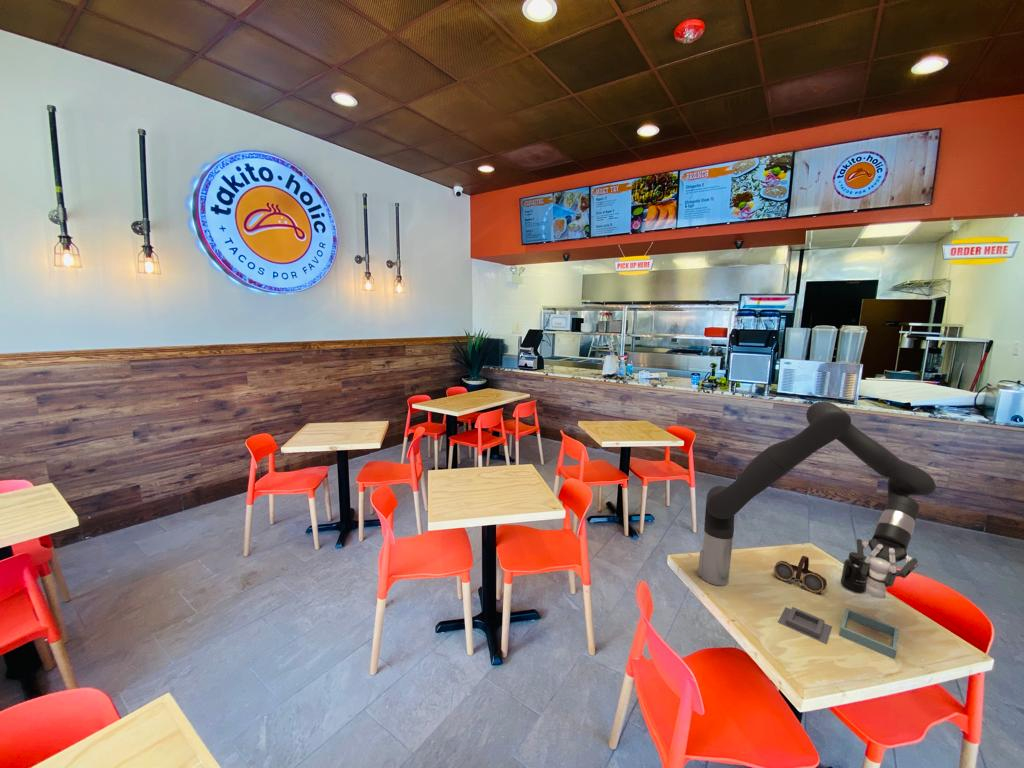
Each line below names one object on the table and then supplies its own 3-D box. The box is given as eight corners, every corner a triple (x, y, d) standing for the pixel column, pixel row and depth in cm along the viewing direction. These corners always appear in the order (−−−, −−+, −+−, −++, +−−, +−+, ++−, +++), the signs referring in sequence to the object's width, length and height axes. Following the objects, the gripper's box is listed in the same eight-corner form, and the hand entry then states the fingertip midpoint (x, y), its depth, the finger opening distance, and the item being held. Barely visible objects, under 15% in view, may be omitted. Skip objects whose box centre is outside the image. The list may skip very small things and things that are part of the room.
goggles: (770, 577, 149) (775, 549, 149) (780, 571, 158) (785, 545, 158) (822, 598, 138) (827, 568, 138) (829, 591, 147) (834, 563, 147)
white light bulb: (865, 593, 119) (869, 561, 117) (866, 587, 122) (871, 555, 120) (884, 600, 116) (889, 567, 114) (885, 593, 119) (890, 561, 117)
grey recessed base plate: (777, 625, 125) (778, 617, 125) (785, 609, 133) (786, 602, 132) (826, 647, 117) (827, 639, 117) (831, 629, 124) (833, 621, 124)
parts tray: (838, 638, 121) (840, 627, 120) (844, 618, 129) (846, 608, 129) (894, 662, 112) (896, 650, 112) (896, 639, 121) (898, 628, 120)
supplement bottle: (859, 596, 140) (865, 563, 138) (836, 584, 146) (841, 552, 144) (869, 590, 143) (875, 558, 142) (846, 579, 149) (851, 548, 148)
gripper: (862, 514, 126) (842, 563, 121) (927, 533, 114) (908, 589, 109) (865, 525, 130) (846, 574, 125) (928, 546, 118) (910, 600, 113)
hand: (875, 581), depth 117 cm, fingers closed on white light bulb, 4 cm apart
